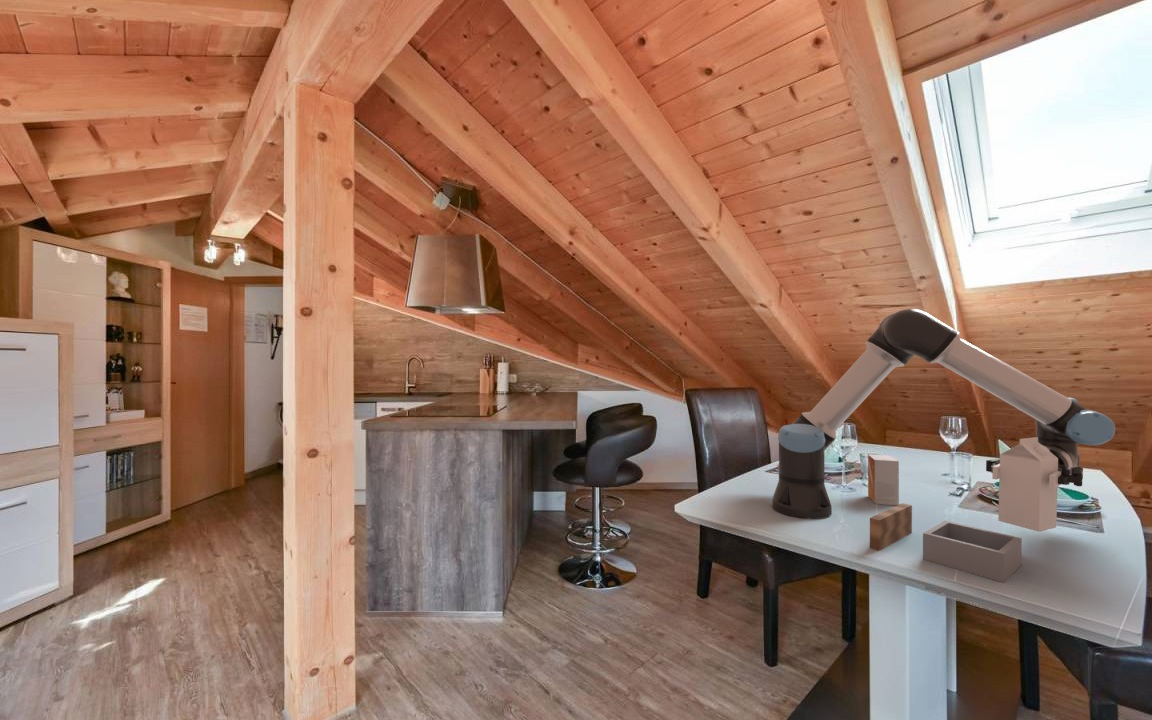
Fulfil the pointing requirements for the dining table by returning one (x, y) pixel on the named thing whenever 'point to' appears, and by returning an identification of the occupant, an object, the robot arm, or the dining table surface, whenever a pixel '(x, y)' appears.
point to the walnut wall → (890, 526)
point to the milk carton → (1028, 486)
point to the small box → (883, 479)
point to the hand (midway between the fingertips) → (1022, 477)
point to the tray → (973, 550)
